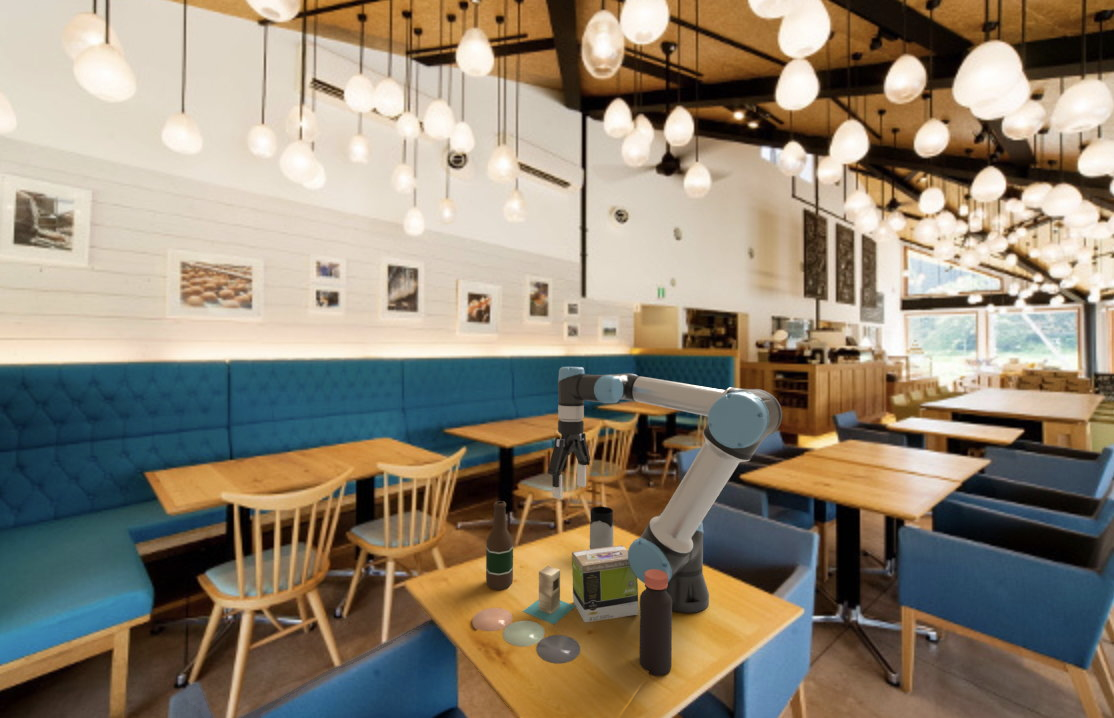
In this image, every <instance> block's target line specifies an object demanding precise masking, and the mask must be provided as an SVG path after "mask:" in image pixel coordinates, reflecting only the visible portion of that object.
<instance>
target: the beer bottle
mask: <svg viewBox="0 0 1114 718" xmlns="http://www.w3.org/2000/svg"><path fill="white" fill-rule="evenodd" d="M492 507H493V508H494V509H493V510H494V511H493V523H492V524H493V525H492V529H491V531H490V532H489V534H488V537H487V538H486V539H487V540H486V543H485V544H486V545H485V546H486V547H485V548H486V549H485V550H486V551H485V557H486V558H485V559H486V560H485V564H486V565H485V580H486V582H485V583H486V586H488V588H489V589H490V590H493V591H494V590H495V591H502V590H506V589H509V588H510V586H511V585H512V584H513V582H514V581H513V579H514V541H513V537H512V535H511V533H510V532H509V530H508V526H507V513H506V512H507V511H506V507H507V503H506V502H505V501H504V500H503V501H502V500H498V501H495V502H494V503H493V506H492Z"/></svg>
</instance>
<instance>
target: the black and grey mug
mask: <svg viewBox="0 0 1114 718" xmlns="http://www.w3.org/2000/svg"><path fill="white" fill-rule="evenodd" d="M612 546H614V510H613V508H610V507H608V506H607V505H606V506H594V507H592V508H590V522H589V549H597V548H605V547H612Z"/></svg>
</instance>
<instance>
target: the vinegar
mask: <svg viewBox="0 0 1114 718" xmlns="http://www.w3.org/2000/svg"><path fill="white" fill-rule="evenodd" d="M644 586H645V589H643V591H641V593H640V596H639V657H638V658H639V665H640V667H641V668H642V669H643V670H645V671H646V672H648V675H649V674H650V675H652V676H657V677H659V676H664V675H667V674H669V673H670V671H671V669H672V659H673V658H672V645H673V644H672V640H673V610H672V598H671V596H670V595H669V594H668V592H667V591H666V590H667V586H668V575H667V574H666V573H665V572H664V571H661V570H657V569H650V570H647V571H646V572H645V583H644Z"/></svg>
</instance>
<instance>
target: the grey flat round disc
mask: <svg viewBox="0 0 1114 718" xmlns="http://www.w3.org/2000/svg"><path fill="white" fill-rule="evenodd" d="M535 651H536V654H537V655H538V657H539V658H540V659H542V660H543V661H545V662H548V663H550V664H567V663H569V662H572V661H574V660H576V659H577V658H578V656H579V655H580V653H581V646H580V643H579V642H578V641H577V640H575V639H574V638H573V637H571V636H568V635H563V634H553V635H548V636H546V637H545V636H544V637H543V639H542V640H541V641H540V642H538V643H536V649H535Z"/></svg>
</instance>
